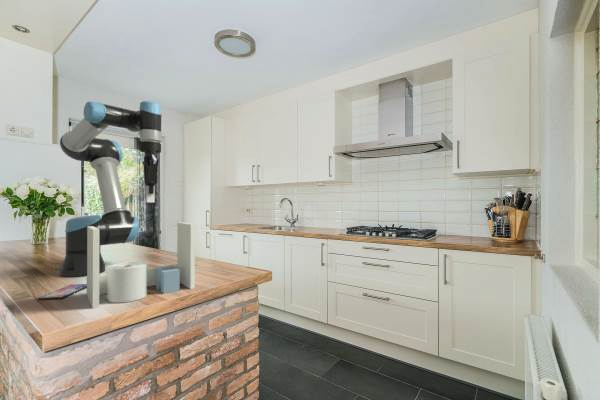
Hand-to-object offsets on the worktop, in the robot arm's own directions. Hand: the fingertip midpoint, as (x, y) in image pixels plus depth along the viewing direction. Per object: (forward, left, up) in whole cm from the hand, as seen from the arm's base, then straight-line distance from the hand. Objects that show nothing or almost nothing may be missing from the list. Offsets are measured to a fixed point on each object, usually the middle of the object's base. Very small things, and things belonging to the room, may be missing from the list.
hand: (150, 202), depth 117 cm
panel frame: (+19, -7, -29) cm, 36 cm away
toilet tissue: (+21, -12, -30) cm, 38 cm away
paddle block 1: (+18, 0, -29) cm, 35 cm away
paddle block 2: (+24, 0, -29) cm, 38 cm away
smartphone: (+3, -26, -30) cm, 40 cm away
